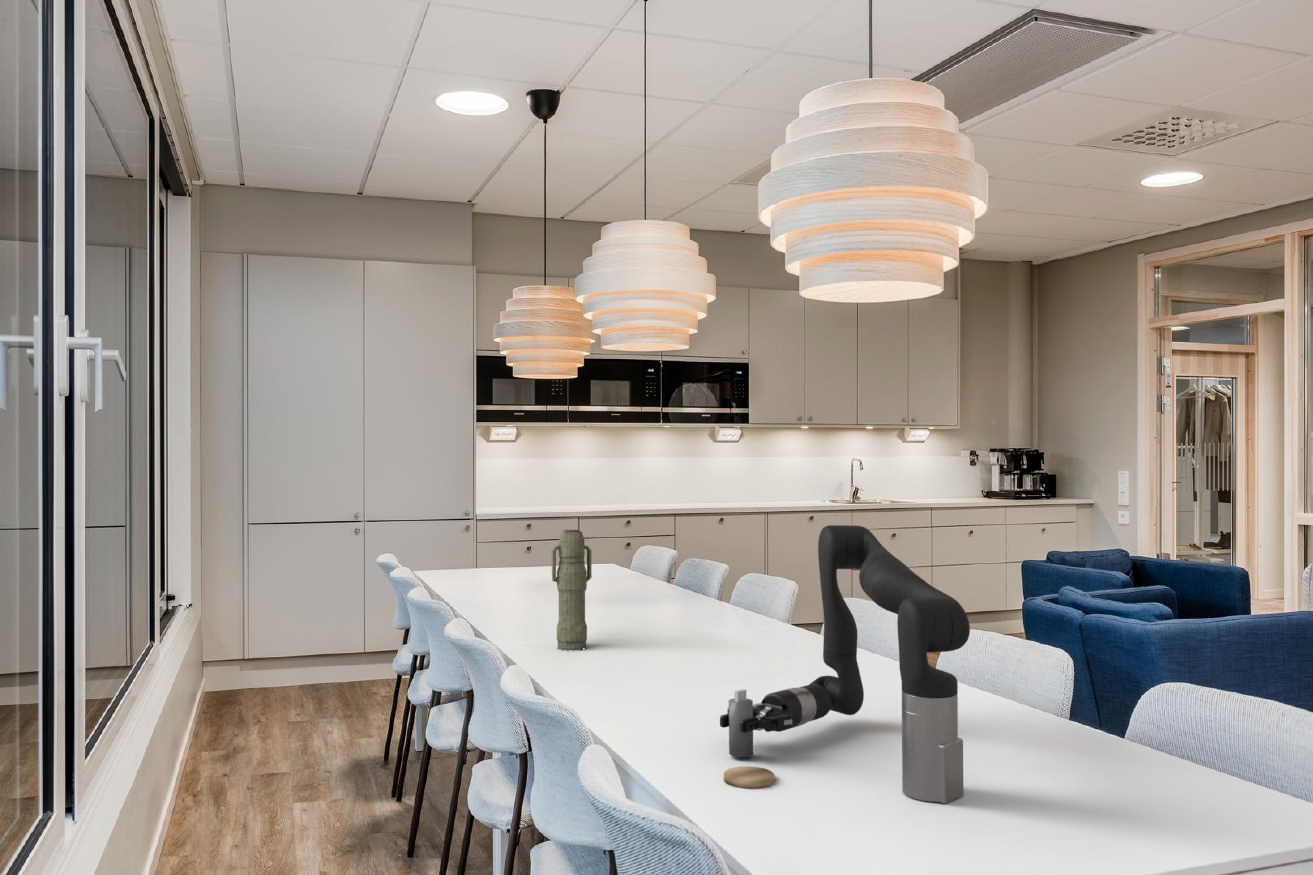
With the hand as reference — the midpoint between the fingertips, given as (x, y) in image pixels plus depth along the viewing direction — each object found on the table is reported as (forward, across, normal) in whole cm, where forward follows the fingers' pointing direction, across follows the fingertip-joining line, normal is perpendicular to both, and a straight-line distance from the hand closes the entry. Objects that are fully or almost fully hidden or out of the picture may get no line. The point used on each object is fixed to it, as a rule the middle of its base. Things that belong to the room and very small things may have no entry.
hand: (731, 724), depth 189 cm
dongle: (-3, 0, +6) cm, 7 cm away
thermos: (-46, -106, +6) cm, 116 cm away
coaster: (+6, +10, +7) cm, 13 cm away
